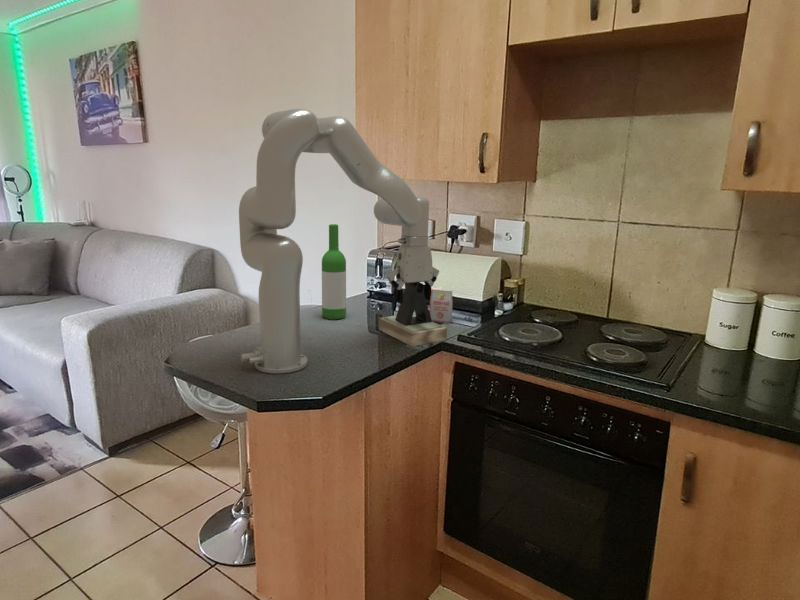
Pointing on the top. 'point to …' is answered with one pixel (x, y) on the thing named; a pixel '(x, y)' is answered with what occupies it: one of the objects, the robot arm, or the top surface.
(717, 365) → the top surface
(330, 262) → the wine bottle
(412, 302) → the dark brown arched piece
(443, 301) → the small printed carton
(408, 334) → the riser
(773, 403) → the top surface
